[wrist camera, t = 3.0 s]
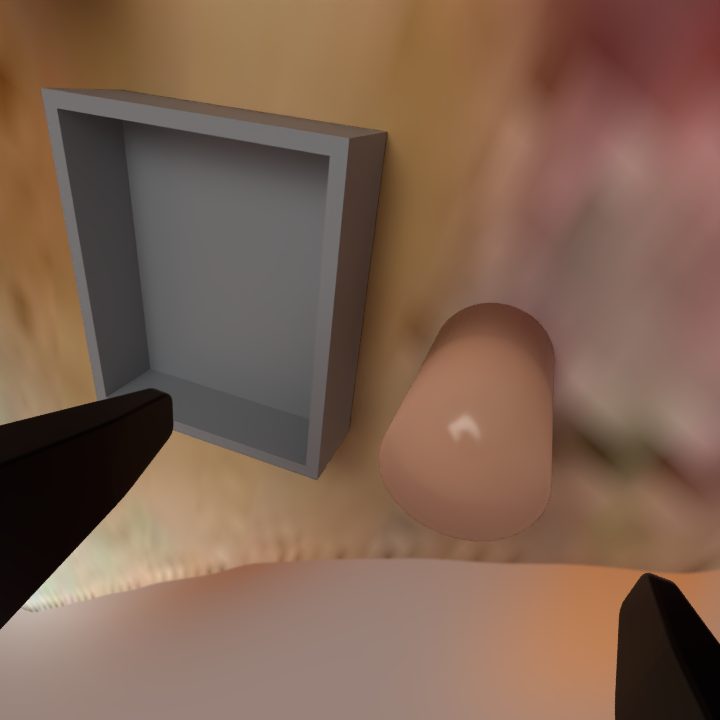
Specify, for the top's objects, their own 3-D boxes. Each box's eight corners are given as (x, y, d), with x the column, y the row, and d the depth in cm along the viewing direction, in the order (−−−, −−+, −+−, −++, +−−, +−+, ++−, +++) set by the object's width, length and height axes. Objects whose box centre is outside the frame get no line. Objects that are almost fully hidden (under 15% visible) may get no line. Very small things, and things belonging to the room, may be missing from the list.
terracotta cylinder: (570, 319, 19) (576, 434, 13) (534, 422, 22) (523, 562, 15) (446, 290, 21) (391, 381, 14) (424, 390, 23) (369, 508, 16)
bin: (387, 131, 19) (349, 138, 15) (348, 430, 26) (317, 480, 22) (121, 89, 22) (40, 87, 18) (152, 368, 29) (98, 403, 25)
